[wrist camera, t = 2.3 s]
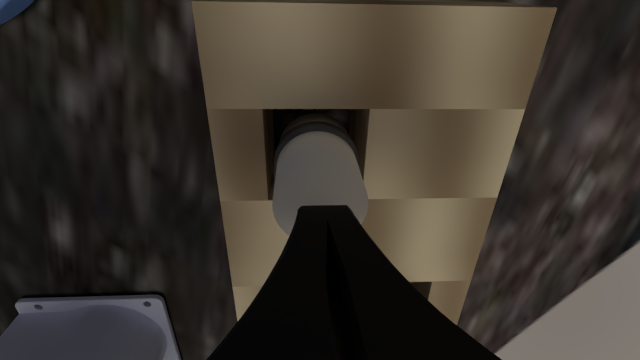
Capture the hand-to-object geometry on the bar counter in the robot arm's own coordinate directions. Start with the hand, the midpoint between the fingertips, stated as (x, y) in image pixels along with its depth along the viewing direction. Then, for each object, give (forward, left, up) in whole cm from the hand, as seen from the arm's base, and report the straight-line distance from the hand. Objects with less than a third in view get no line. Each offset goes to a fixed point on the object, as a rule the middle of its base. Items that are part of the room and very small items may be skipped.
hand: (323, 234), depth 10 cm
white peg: (0, 0, -6) cm, 6 cm away
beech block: (+2, -4, -10) cm, 11 cm away
